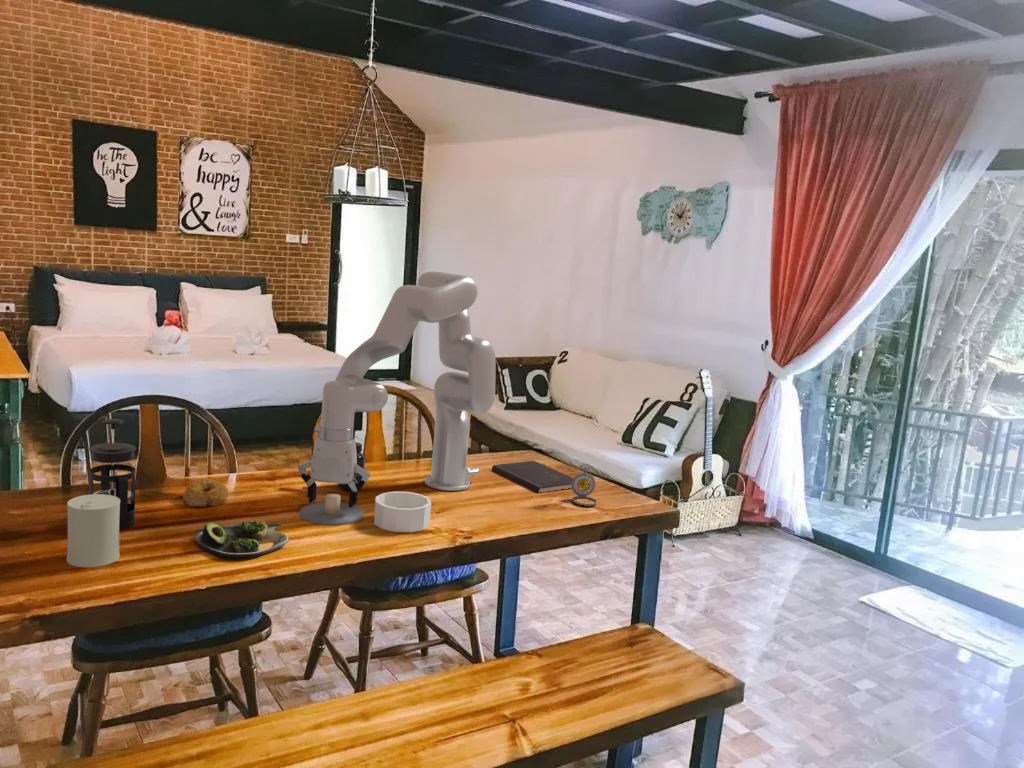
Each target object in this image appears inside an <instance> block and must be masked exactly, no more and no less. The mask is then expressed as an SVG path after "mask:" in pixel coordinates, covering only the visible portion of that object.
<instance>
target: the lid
mask: <svg viewBox="0 0 1024 768" xmlns="http://www.w3.org/2000/svg"><path fill="white" fill-rule="evenodd" d="M341 498H342V497H341V495H340V494H339V493H327V494H325V497H324V502H317V503H311V504H310V503H309V504H308V505H305V506H304V507H303V506H302V508H301V509H300V510H299V516H300V518H301V519H302V520H304V521H306V522H308V523H312V524H317V525H323V526H343V525H350V524H354V523H356V522H359V521H360V520H362V519H363V518H364V514H365V513H364V512H365V511H363V509H362V508H361V507H359V506H356V505H354V506H353V507H352V508H350V507H349V503H345V502H344V503H343V502H341Z"/></svg>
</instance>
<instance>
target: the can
mask: <svg viewBox="0 0 1024 768" xmlns="http://www.w3.org/2000/svg"><path fill="white" fill-rule="evenodd" d="M66 506H67V507H66V509H67V510H66V511H67V550H66V551H67V555H66V563H67V564H68V565H70V566H73V567H77V568H87V569H88V568H99V567H104V566H107V565H108V566H109V565H111V564H114V563H115V562H117V561H118V560H119V558H120V557H121V555H120V530H119V513H120V499H119V498H118V497H115V496H112V495H105V494H91V495H89V494H84V495H79V496H76V497H73V498H71V499H69V500H68V501H67V502H66Z"/></svg>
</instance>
